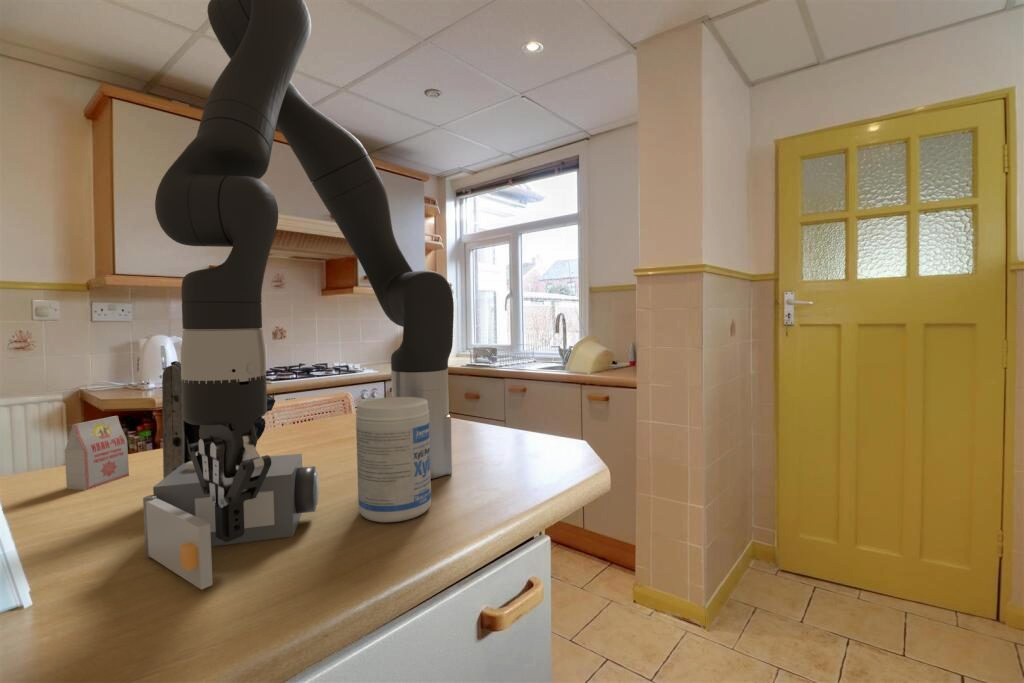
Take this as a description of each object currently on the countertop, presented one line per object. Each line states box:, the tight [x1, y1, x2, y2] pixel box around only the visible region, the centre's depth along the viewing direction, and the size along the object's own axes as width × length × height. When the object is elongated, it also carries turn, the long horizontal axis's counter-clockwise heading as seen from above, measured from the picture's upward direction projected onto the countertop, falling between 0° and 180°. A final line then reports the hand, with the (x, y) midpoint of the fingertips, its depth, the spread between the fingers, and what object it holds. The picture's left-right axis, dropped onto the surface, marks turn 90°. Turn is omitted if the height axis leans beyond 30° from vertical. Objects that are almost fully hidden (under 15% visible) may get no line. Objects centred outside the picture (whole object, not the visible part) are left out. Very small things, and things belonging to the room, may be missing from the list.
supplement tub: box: [355, 396, 432, 523], centre depth 65 cm, size 10×10×15 cm
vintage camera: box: [161, 360, 276, 479], centre depth 73 cm, size 10×16×20 cm, turn 78°
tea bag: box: [64, 415, 130, 491], centre depth 77 cm, size 4×7×10 cm, turn 169°
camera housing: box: [152, 453, 320, 548], centre depth 60 cm, size 16×9×8 cm, turn 106°
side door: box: [142, 494, 214, 590], centre depth 49 cm, size 13×2×6 cm, turn 56°
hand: (230, 537), depth 51 cm, fingers closed
